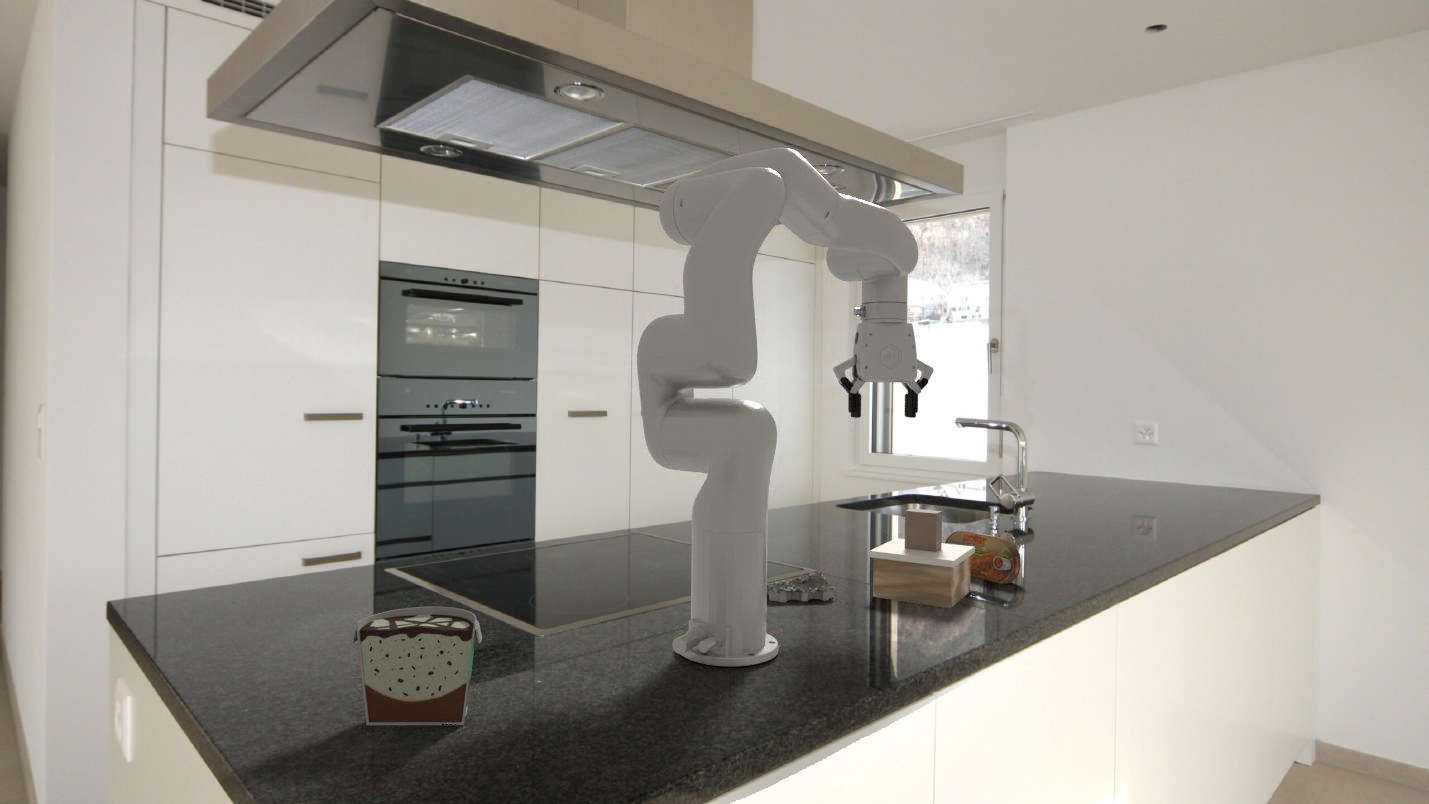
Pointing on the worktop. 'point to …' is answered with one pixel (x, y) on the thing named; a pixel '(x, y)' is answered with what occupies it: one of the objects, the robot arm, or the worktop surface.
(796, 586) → the egg carton
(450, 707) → the food container
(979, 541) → the tin
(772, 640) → the robot arm
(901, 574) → the box
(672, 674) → the worktop surface
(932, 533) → the lid
